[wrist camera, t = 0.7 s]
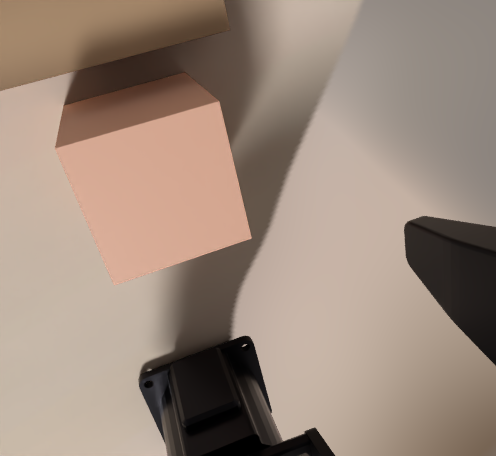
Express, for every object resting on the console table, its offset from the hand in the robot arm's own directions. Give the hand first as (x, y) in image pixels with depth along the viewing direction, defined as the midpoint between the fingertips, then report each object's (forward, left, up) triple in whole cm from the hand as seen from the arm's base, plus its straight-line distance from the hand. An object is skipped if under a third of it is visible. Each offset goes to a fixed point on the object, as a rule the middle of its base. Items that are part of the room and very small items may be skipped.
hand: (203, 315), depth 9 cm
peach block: (0, 0, -13) cm, 13 cm away
